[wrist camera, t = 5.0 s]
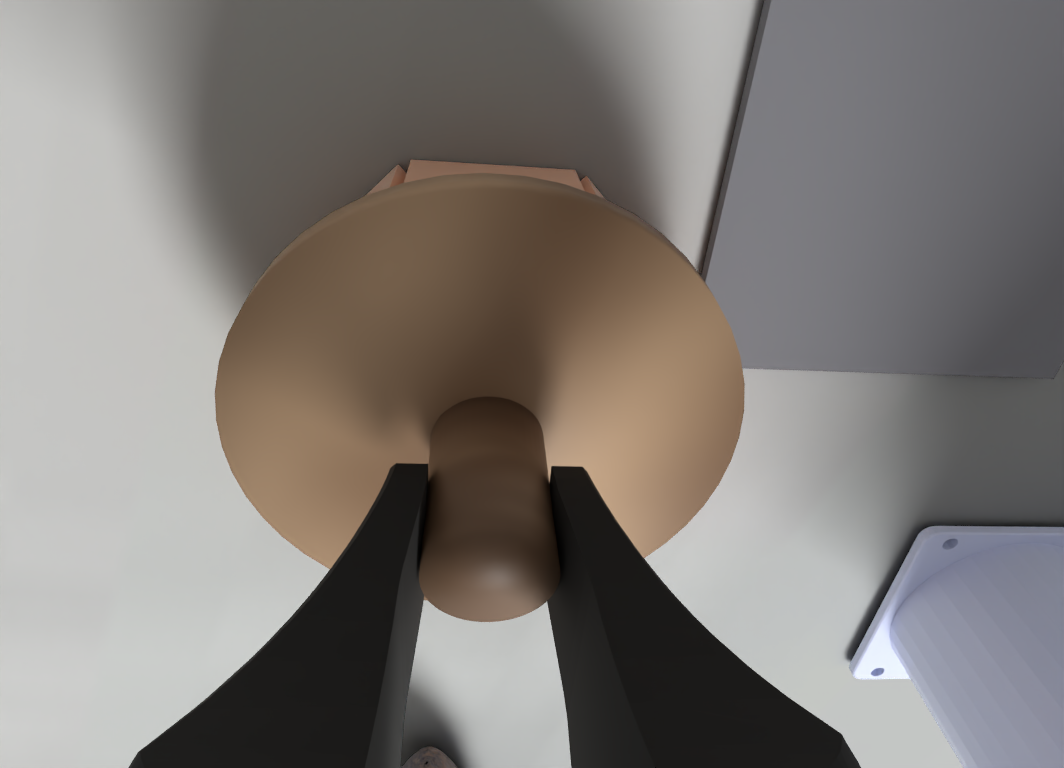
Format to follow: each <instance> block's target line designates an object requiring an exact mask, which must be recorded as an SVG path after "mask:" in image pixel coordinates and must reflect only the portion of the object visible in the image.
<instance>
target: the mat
mask: <svg viewBox="0 0 1064 768" xmlns="http://www.w3.org/2000/svg"><path fill="white" fill-rule="evenodd" d="M701 277H702V279H703V280H704V281H705V283H706V284H707V286H708V288H709V289H710V291H711V293H712V294H713V296H714V297H715V299H716V301H717V303H718V305H719V306H720V308H721V310H722V312H723V314H724V316H725V318H726V320H727V322H728V323H729V325H730V327H731V329H732V332H733V336H734V339H735V342H736V345H737V348H738V351H739V354H740V357H741V364H742V368H749V369H779V370H809V371H839V372H868V373H898V374H928V375H958V376H988V377H1018V378H1048V379H1054V377H1055V375H1056V373H1057V372H1058V370H1059V368H1060V367H1061V365H1062V363H1063V361H1064V0H764V3H763V8H762V12H761V16H760V21H759V25H758V30H757V34H756V38H755V43H754V47H753V51H752V56H751V60H750V65H749V69H748V73H747V78H746V82H745V86H744V91H743V95H742V99H741V104H740V108H739V113H738V117H737V121H736V126H735V130H734V134H733V139H732V143H731V148H730V152H729V156H728V161H727V165H726V169H725V174H724V178H723V183H722V187H721V191H720V196H719V200H718V204H717V209H716V213H715V217H714V222H713V226H712V231H711V235H710V239H709V244H708V248H707V252H706V257H705V261H704V266H703V270H702V274H701Z"/></svg>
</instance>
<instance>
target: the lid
mask: <svg viewBox="0 0 1064 768" xmlns="http://www.w3.org/2000/svg"><path fill="white" fill-rule="evenodd" d="M215 403H216V421H217V426H218V430H219V435H220V440H221V444H222V448H223V451H224V453H225V456H226V458H227V461H228V463H229V466H230V468H231V471H232V473H233V475H234V476H235V478H236V480H237V482H238V483H239V485H240V487H241V488H242V490H243V492H244V494H245V495H246V497H247V498H248V499H249V501H250V502H251V503H252V504H253V506H254V507H255V508H256V510H257V511H258V512H259V513H260V515H261V516H262V517H263V518H264V519H265V520H266V521H267V522H268V523H269V524H270V525H271V526H272V527H273V528H274V529H275V530H276V531H277V532H278V533H279V534H280V535H281V536H282V537H283V538H285V539H286V540H287V541H289V542H290V543H291V544H292V545H294V546H295V547H296V548H298V549H299V550H300V551H302V552H303V553H304V554H306V555H307V556H309V557H311V558H312V559H314V560H316V561H317V562H319V563H320V564H322V565H324V566H325V567H327V568H329V569H331V567H332V566H333V565H334V563H335V562H336V561H337V559H338V558H339V556H340V555H341V554H342V552H343V551H344V549H345V548H346V547H347V545H348V544H349V542H350V541H351V539H352V538H353V536H354V534H355V533H356V531H357V530H358V528H359V527H360V525H361V523H362V522H363V520H364V519H365V517H366V515H367V514H368V512H369V510H370V508H371V507H372V505H373V503H374V501H375V500H376V498H377V496H378V494H379V492H380V490H381V488H382V486H383V484H384V482H385V480H386V478H387V475H388V473H389V470H390V468H391V467H392V466H393V465H395V464H396V463H413V464H428V491H427V503H426V515H425V524H424V531H423V539H422V547H421V558H420V570H419V583H420V587H421V590H422V592H423V594H424V600H428V601H429V602H430V603H431V604H433V605H434V606H435V607H436V608H438V609H439V610H441V611H443V612H445V613H447V614H449V615H451V616H454V617H457V618H460V619H464V620H470V621H478V622H494V621H503V620H509V619H513V618H517V617H520V616H523V615H525V614H527V613H530V612H532V611H534V610H535V609H537V608H539V607H540V606H541V605H543V604H544V603H545V602H546V601H547V600H548V599H550V597H551V596H552V595H553V594H554V592H555V590H556V589H557V587H558V584H559V581H560V564H559V556H558V548H557V540H556V532H555V525H554V518H553V510H552V502H551V494H550V486H549V482H550V474H551V466H581V467H583V468H584V469H585V470H586V471H587V472H588V474H589V476H590V478H591V480H592V481H593V483H594V485H595V487H596V488H597V490H598V492H599V493H600V495H601V497H602V498H603V500H604V502H605V503H606V505H607V506H608V508H609V510H610V511H611V513H612V514H613V516H614V517H615V519H616V520H617V522H618V523H619V525H620V526H621V528H622V529H623V530H624V532H625V533H626V535H627V536H628V537H629V539H630V540H631V542H632V543H633V545H634V546H635V547H636V549H637V550H638V551H639V553H640V554H641V555H642V557H643V558H645V557H646V556H648V555H649V554H651V553H652V552H654V551H655V550H656V549H658V548H659V547H661V546H662V545H663V544H665V543H666V542H667V541H669V540H670V539H671V538H672V537H673V536H674V535H675V534H677V533H678V532H679V531H680V530H681V529H682V528H683V527H684V526H686V525H687V524H688V522H689V521H690V520H691V519H692V518H693V517H694V516H695V515H696V514H697V512H698V511H699V510H700V509H701V508H702V507H703V506H704V504H705V503H706V502H707V500H708V499H709V497H710V496H711V495H712V493H713V492H714V490H715V489H716V487H717V486H718V485H719V483H720V481H721V479H722V477H723V475H724V473H725V471H726V469H727V467H728V465H729V463H730V461H731V459H732V456H733V453H734V450H735V447H736V444H737V441H738V439H739V435H740V429H741V424H742V418H743V413H744V377H743V371H742V364H741V357H740V354H739V351H738V348H737V345H736V342H735V339H734V336H733V332H732V329H731V327H730V325H729V323H728V322H727V320H726V318H725V316H724V314H723V312H722V310H721V308H720V306H719V305H718V303H717V301H716V299H715V297H714V296H713V294H712V293H711V291H710V289H709V288H708V286H707V284H706V283H705V281H704V280H703V279H702V277H701V276H700V275H699V273H698V272H697V271H696V269H695V268H694V267H693V265H692V264H691V263H690V261H689V260H688V259H687V257H686V256H685V255H684V254H683V253H681V252H680V251H679V250H678V249H677V248H676V247H675V246H674V245H673V244H672V243H671V242H670V241H669V240H668V239H667V238H666V237H665V236H664V235H663V234H662V233H660V232H659V231H657V230H656V229H655V228H653V227H652V226H650V225H649V224H647V223H646V222H645V221H643V220H642V219H640V218H639V217H638V216H636V215H635V214H633V213H631V212H629V211H628V210H626V209H624V208H622V207H620V206H618V205H616V204H614V203H612V202H610V201H608V200H606V199H604V198H602V197H600V196H597V195H594V194H592V193H589V192H586V191H583V190H580V189H577V188H574V187H572V186H569V185H566V184H562V183H558V182H553V181H548V180H543V179H538V178H533V177H528V176H521V175H507V174H494V173H472V174H455V175H442V176H436V177H431V178H426V179H421V180H415V181H410V182H405V183H401V184H398V185H395V186H392V187H389V188H386V189H383V190H380V191H377V192H374V193H371V194H368V195H366V196H364V197H362V198H360V199H358V200H355V201H353V202H351V203H349V204H347V205H345V206H343V207H341V208H339V209H337V210H335V211H333V212H331V213H330V214H328V215H327V216H326V217H324V218H323V219H321V220H320V221H318V222H317V223H315V224H314V225H313V226H311V227H310V228H308V229H307V230H305V231H304V232H302V233H301V234H300V235H299V236H298V237H297V238H296V239H295V240H294V241H293V242H291V243H290V244H289V245H288V246H287V247H286V248H285V249H284V250H283V251H282V252H281V253H280V254H279V255H278V256H277V257H276V258H275V259H274V260H273V262H272V263H271V264H270V265H269V267H268V268H267V269H266V271H265V272H264V273H263V275H262V276H261V277H260V279H259V280H258V281H257V282H256V284H255V285H254V287H253V289H252V291H251V292H250V294H249V296H248V297H247V299H246V301H245V303H244V304H243V306H242V308H241V310H240V312H239V314H238V316H237V317H236V319H235V321H234V323H233V325H232V327H231V329H230V331H229V333H228V336H227V339H226V342H225V345H224V348H223V351H222V354H221V357H220V360H219V365H218V373H217V380H216V388H215Z"/></svg>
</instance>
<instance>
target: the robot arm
mask: <svg viewBox="0 0 1064 768" xmlns="http://www.w3.org/2000/svg"><path fill="white" fill-rule="evenodd" d="M549 486H550V494H551V502H552V510H553V518H554V525H555V532H556V540H557V548H558V556H559V564H560V581H559V584H558V587H557V589H556V590H555V592H554V594H553V595H552V596H551V597H550V599H548V600H547V602H548V608H549V614H550V619H551V625H552V630H553V636H554V641H555V647H556V652H557V658H558V663H559V669H560V674H561V680H562V685H563V691H564V697H565V704H566V712H567V719H568V731H569V743H570V755H571V766H572V768H861V767H860V765H859V763H858V761H857V760H856V758H855V756H854V755H853V753H852V751H851V750H850V748H849V746H848V745H847V743H846V741H845V740H844V738H843V736H842V734H841V733H839V732H838V731H836V730H835V729H833V728H832V727H830V726H829V725H828V724H826V723H825V722H823V721H822V720H820V719H819V718H817V717H816V716H814V715H813V714H812V713H810V712H809V711H807V710H806V709H804V708H803V707H801V706H800V705H798V704H797V703H796V702H794V701H793V700H791V699H790V698H788V697H787V696H786V695H784V694H783V693H782V692H780V691H779V690H778V689H776V688H775V687H774V686H773V685H771V684H770V683H769V682H767V681H766V680H765V679H764V678H762V677H761V676H760V675H758V674H757V673H756V672H755V671H753V670H752V669H751V668H750V667H749V666H747V665H746V664H745V663H744V662H743V661H742V660H741V659H739V658H738V657H737V656H736V655H735V654H734V653H733V652H732V651H730V650H729V649H728V648H727V647H726V646H725V645H724V644H722V643H721V642H720V641H719V640H718V639H717V638H716V637H715V636H713V635H712V634H711V633H710V632H709V631H708V630H707V629H706V628H705V627H704V626H703V625H702V624H701V623H700V622H699V621H698V620H697V619H696V618H695V617H694V616H693V615H692V614H691V613H690V612H689V610H688V609H687V608H686V607H685V606H684V605H683V604H682V603H681V602H680V601H679V600H678V599H677V598H676V597H675V595H674V594H673V593H672V592H671V591H670V590H669V589H668V587H667V586H666V585H665V584H664V583H663V582H662V580H661V579H660V578H659V577H658V575H657V574H656V573H655V572H654V571H653V569H652V568H651V567H650V566H649V564H648V563H647V562H646V561H645V559H644V558H643V557H642V555H641V554H640V553H639V551H638V550H637V549H636V547H635V546H634V545H633V543H632V542H631V540H630V539H629V537H628V536H627V535H626V533H625V532H624V530H623V529H622V528H621V526H620V525H619V523H618V522H617V520H616V519H615V517H614V516H613V514H612V513H611V511H610V510H609V508H608V506H607V505H606V503H605V502H604V500H603V498H602V497H601V495H600V493H599V492H598V490H597V488H596V487H595V485H594V483H593V481H592V480H591V478H590V476H589V474H588V472H587V471H586V470H585V469H584V468H583V467H581V466H551V474H550V482H549ZM427 491H428V464H413V463H396V464H395V465H393V466H392V467H391V468H390V470H389V473H388V475H387V478H386V480H385V482H384V484H383V486H382V488H381V490H380V492H379V494H378V496H377V498H376V500H375V501H374V503H373V505H372V507H371V508H370V510H369V512H368V514H367V515H366V517H365V519H364V520H363V522H362V523H361V525H360V527H359V528H358V530H357V531H356V533H355V534H354V536H353V538H352V539H351V541H350V542H349V544H348V545H347V547H346V548H345V549H344V551H343V552H342V554H341V555H340V556H339V558H338V559H337V561H336V562H335V563H334V565H333V566H332V567H331V569H330V570H329V572H328V573H327V574H326V576H325V577H324V578H323V580H322V581H321V582H320V583H319V585H318V586H317V587H316V588H315V590H314V591H313V592H312V593H311V595H310V596H309V597H308V598H307V599H306V600H305V602H304V603H303V604H302V605H301V606H300V607H299V609H298V610H297V611H296V612H295V613H294V614H293V615H292V617H291V618H290V619H289V620H288V621H287V622H286V623H285V624H284V625H283V626H282V627H281V628H280V629H279V630H278V631H277V633H276V634H275V635H274V636H273V637H272V638H271V639H270V640H269V641H268V642H267V643H266V644H265V645H264V646H263V647H262V648H261V649H260V650H259V651H258V652H257V653H256V654H255V655H254V656H253V657H252V658H251V659H250V660H249V661H248V662H247V663H245V664H244V665H243V666H242V667H241V668H240V669H239V670H238V671H237V672H235V673H234V674H233V675H232V676H231V677H230V678H229V679H228V680H227V681H225V682H224V683H223V684H222V685H221V686H220V687H219V688H218V689H217V690H215V691H214V692H213V693H212V694H211V695H210V696H209V697H208V698H206V699H205V700H204V701H203V702H202V703H200V704H199V705H198V706H197V707H196V708H194V709H193V710H192V711H191V712H189V713H188V714H187V715H185V716H184V717H183V718H182V719H180V720H179V721H178V722H176V723H175V724H174V725H173V726H171V727H170V728H169V729H168V730H166V731H165V732H164V733H162V734H161V735H160V736H159V737H157V738H156V739H155V740H153V741H152V742H151V743H150V744H148V745H147V746H146V747H144V748H143V749H142V750H140V751H139V752H138V753H137V755H136V757H135V758H134V760H133V761H132V763H131V765H130V766H129V768H400V765H401V753H402V740H403V727H404V717H405V709H406V702H407V695H408V689H409V683H410V677H411V671H412V665H413V660H414V654H415V648H416V642H417V636H418V630H419V624H420V618H421V612H422V606H423V600H424V594H423V592H422V590H421V587H420V583H419V570H420V558H421V547H422V539H423V531H424V524H425V515H426V503H427ZM849 669H850V671H851V673H852V675H853V676H854V677H855V678H857V679H909V678H910V679H911V681H912V682H913V684H914V686H915V687H916V689H917V691H918V692H919V694H920V696H921V697H922V699H923V701H924V702H925V704H926V706H927V707H928V709H929V711H930V712H931V714H932V716H933V717H934V719H935V721H936V723H937V724H938V726H939V728H940V729H941V731H942V733H943V734H944V736H945V738H946V739H947V741H948V743H949V744H950V746H951V748H952V749H953V751H954V753H955V754H956V756H957V758H958V759H959V761H960V763H961V764H962V766H963V768H1064V527H1002V526H931V527H928V528H925V529H924V530H922V531H921V532H920V533H919V534H918V536H917V537H916V539H915V541H914V543H913V545H912V547H911V549H910V551H909V553H908V555H907V556H906V558H905V560H904V562H903V564H902V566H901V568H900V570H899V572H898V574H897V575H896V577H895V579H894V581H893V583H892V585H891V587H890V589H889V591H888V592H887V594H886V596H885V598H884V600H883V602H882V604H881V606H880V608H879V610H878V611H877V613H876V615H875V617H874V619H873V621H872V623H871V625H870V627H869V629H868V630H867V632H866V634H865V636H864V638H863V640H862V642H861V644H860V646H859V648H858V649H857V651H856V653H855V655H854V657H853V659H852V661H851V663H850V665H849Z"/></svg>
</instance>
